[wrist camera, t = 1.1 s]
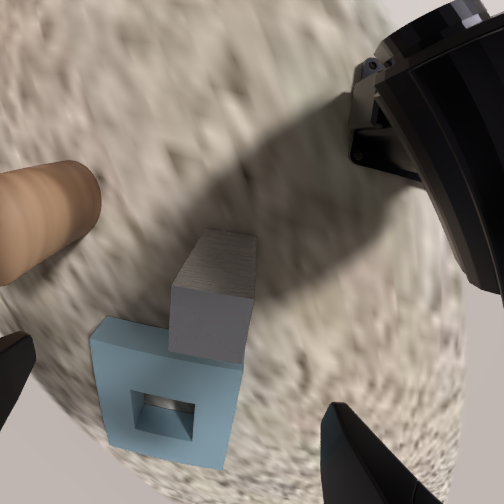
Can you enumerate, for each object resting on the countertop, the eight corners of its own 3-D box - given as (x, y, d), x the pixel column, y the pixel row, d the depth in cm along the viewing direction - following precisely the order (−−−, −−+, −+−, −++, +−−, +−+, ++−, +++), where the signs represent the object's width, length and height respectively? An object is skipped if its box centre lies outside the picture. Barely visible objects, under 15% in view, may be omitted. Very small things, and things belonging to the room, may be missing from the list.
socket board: (245, 343, 21) (243, 370, 19) (225, 444, 25) (222, 470, 22) (107, 315, 21) (89, 338, 18) (119, 421, 25) (109, 444, 22)
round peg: (104, 163, 18) (21, 181, 10) (100, 243, 19) (28, 296, 12) (41, 158, 18) (-45, 176, 10) (40, 232, 19) (-36, 274, 12)
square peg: (256, 236, 19) (254, 299, 11) (248, 282, 20) (241, 364, 12) (206, 227, 19) (171, 285, 11) (200, 274, 20) (168, 351, 12)
